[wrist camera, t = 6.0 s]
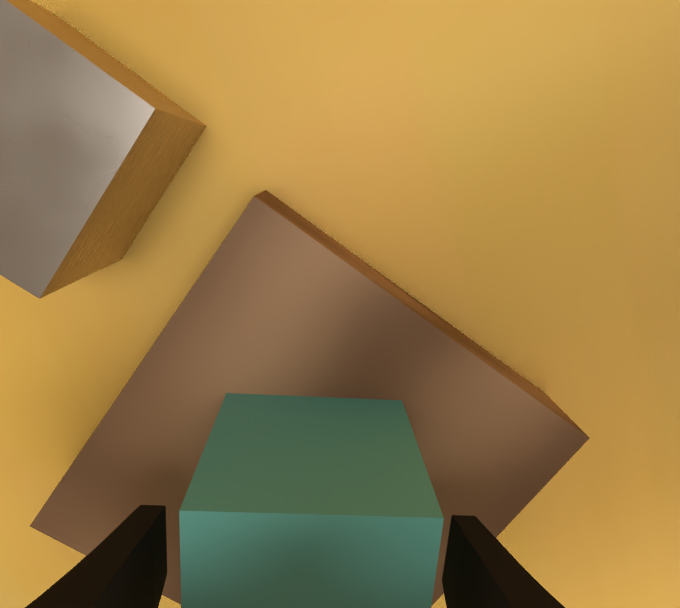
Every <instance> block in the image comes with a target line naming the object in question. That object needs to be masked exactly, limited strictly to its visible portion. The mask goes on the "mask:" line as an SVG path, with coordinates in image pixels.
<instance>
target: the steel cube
mask: <svg viewBox="0 0 680 608" xmlns="http://www.w3.org/2000/svg"><path fill="white" fill-rule="evenodd" d="M205 127H206V125H204V124H203V123H202V122H200V121H199V120H197V119H196V118H195V117H193V116H192V115H191V114H189V113H188V112H187V111H185V110H184V109H183V108H181V107H180V106H178V105H177V104H176V103H174V102H173V101H172V100H170V99H169V98H168V97H166V96H165V95H163V94H162V93H161V92H159V91H158V90H157V89H155V88H154V87H153V86H151V85H150V84H149V83H147V82H146V81H144V80H143V79H142V78H140V77H139V76H138V75H136V74H135V73H134V72H132V71H131V70H130V69H128V68H127V67H125V66H124V65H123V64H121V63H120V62H119V61H117V60H116V59H115V58H113V57H112V56H111V55H109V54H108V53H106V52H105V51H104V50H102V49H101V48H100V47H98V46H97V45H96V44H94V43H93V42H91V41H90V40H89V39H87V38H86V37H85V36H83V35H82V34H81V33H79V32H78V31H77V30H75V29H74V28H72V27H71V26H70V25H68V24H67V23H66V22H64V21H63V20H62V19H60V18H59V17H58V16H56V15H55V14H53V13H51V12H50V11H48V10H46V9H44V8H43V7H41V6H39V5H37V4H36V3H34V2H32V1H30V0H0V275H2V276H3V277H5V278H7V279H8V280H10V281H12V282H13V283H15V284H16V285H18V286H20V287H21V288H23V289H25V290H26V291H28V292H30V293H31V294H33V295H34V296H36V297H38V298H39V299H40V298H42V297H44V296H46V295H48V294H50V293H52V292H54V291H56V290H58V289H61V288H63V287H65V286H67V285H69V284H71V283H73V282H75V281H77V280H79V279H81V278H83V277H85V276H87V275H90V274H92V273H94V272H96V271H98V270H100V269H102V268H104V267H106V266H108V265H110V264H112V263H114V262H116V261H119V260H121V259H122V258H123V256H124V255H125V253H126V251H127V250H128V248H129V247H130V245H131V244H132V242H133V240H134V239H135V237H136V236H137V234H138V233H139V231H140V229H141V228H142V226H143V225H144V223H145V222H146V220H147V218H148V217H149V215H150V214H151V212H152V211H153V209H154V207H155V206H156V204H157V203H158V201H159V200H160V198H161V196H162V195H163V193H164V192H165V190H166V189H167V187H168V185H169V184H170V182H171V181H172V179H173V178H174V176H175V174H176V173H177V171H178V170H179V168H180V167H181V165H182V163H183V162H184V160H185V159H186V157H187V156H188V154H189V152H190V151H191V149H192V148H193V146H194V145H195V143H196V141H197V140H198V138H199V137H200V135H201V134H202V132H203V130H204V129H205Z"/></svg>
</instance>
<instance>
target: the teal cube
mask: <svg viewBox="0 0 680 608" xmlns="http://www.w3.org/2000/svg"><path fill="white" fill-rule="evenodd" d="M179 521H180V569H181V608H431V605H432V598H433V591H434V584H435V577H436V570H437V563H438V556H439V549H440V542H441V535H442V528H443V521H444V517H443V514H442V512H441V509H440V506H439V503H438V500H437V498H436V495H435V492H434V489H433V486H432V483H431V481H430V478H429V475H428V472H427V469H426V467H425V464H424V461H423V458H422V455H421V453H420V450H419V447H418V444H417V441H416V439H415V436H414V433H413V430H412V427H411V424H410V422H409V419H408V416H407V413H406V410H405V408H404V405H403V402H402V400H381V399H357V398H333V397H310V396H286V395H262V394H239V393H226V395H225V398H224V400H223V403H222V405H221V408H220V410H219V413H218V415H217V418H216V420H215V423H214V425H213V428H212V430H211V433H210V435H209V438H208V440H207V443H206V445H205V448H204V450H203V453H202V455H201V458H200V460H199V463H198V465H197V468H196V470H195V473H194V475H193V478H192V480H191V483H190V485H189V488H188V490H187V493H186V495H185V498H184V500H183V503H182V505H181V508H180V510H179Z"/></svg>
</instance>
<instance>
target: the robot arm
mask: <svg viewBox="0 0 680 608" xmlns="http://www.w3.org/2000/svg"><path fill="white" fill-rule="evenodd" d="M166 577H167V538H166V506H164V505H140V506H139V507H137V508H136V509H135V510H134V511H133V512H132V513H131V514H130V515H129V516H128V517H127V518H126V519H125V520H124V521H123V522H122V523H121V524H120V525H119V526H118V527H117V528H116V529H115V530H114V531H112V532H111V533H110V534H109V535H108V536H107V537H106V538H105V539H104V540H103V541H102V542H101V543H100V544H99V545H98V546H97V547H96V548H94V549H93V550H92V551H91V552H90V553H89V554H88V555H87V556H86V557H85V558H84V559H82V560H81V561H80V562H79V563H78V564H77V565H76V566H75V567H74V568H73V569H71V570H70V571H69V572H68V573H67V574H66V575H64V576H63V577H62V578H61V579H60V580H58V581H57V582H56V583H55V584H54V585H52V586H51V587H50V588H49V589H48V590H47V591H45V592H44V593H43V594H42V595H41V596H39V597H38V598H37V599H35V600H34V601H33V602H32V603H30V604H29V605H28V606H27V607H25V608H158V606H159V602H160V599H161V595H162V592H163V588H164V584H165V581H166ZM442 585H443V590H444V595H445V601H446V606H447V608H565V607H564V606H563V605H561V604H560V603H559V602H558V601H557V600H556V599H555V598H554V597H553V596H552V595H551V594H550V593H549V592H547V591H546V590H545V589H544V588H543V587H542V586H541V585H540V584H539V583H538V582H537V581H536V580H535V579H534V578H533V577H532V576H531V575H530V574H529V573H528V572H527V571H526V570H525V569H524V568H523V567H522V566H521V565H520V564H519V563H518V561H517V560H516V559H515V558H514V557H513V556H512V555H511V554H510V553H509V552H508V551H507V550H506V549H505V548H504V547H503V545H502V544H501V543H500V542H499V541H498V540H497V539H496V538H495V537H494V536H493V535H492V533H491V532H490V531H489V530H488V529H487V528H486V527H485V526H484V525H483V524H482V523H481V521H480V520H479V519H478V518H477V517H476V516H467V515H452V516H451V523H450V529H449V536H448V543H447V549H446V556H445V562H444V569H443V575H442Z"/></svg>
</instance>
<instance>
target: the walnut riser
mask: <svg viewBox="0 0 680 608" xmlns="http://www.w3.org/2000/svg"><path fill="white" fill-rule="evenodd" d="M226 393H239V394H262V395H286V396H310V397H333V398H357V399H381V400H402V402H403V405H404V408H405V410H406V413H407V416H408V419H409V422H410V424H411V427H412V430H413V433H414V436H415V439H416V441H417V444H418V447H419V450H420V453H421V455H422V458H423V461H424V464H425V467H426V469H427V472H428V475H429V478H430V481H431V483H432V486H433V489H434V492H435V495H436V498H437V500H438V503H439V506H440V509H441V512H442V514H443V517H444V521H443V528H442V535H441V542H440V549H439V556H438V563H437V570H436V577H435V584H434V591H433V598H432V605H433V604H434V603H435V602H436V601H437V600H438V599H439V598H440V596H441V595H442V594H443V593H444V590H443V585H442V575H443V569H444V562H445V556H446V549H447V543H448V536H449V529H450V523H451V516H452V515H467V516H476V517H477V518H478V519H479V520H480V521H481V523H482V524H483V525H484V526H485V527H486V528H487V529H488V530H489V531H490V532H491V533H492V535H493V536H494V537H495V538H496V537H497V536H498V535H499V534H500V533H501V532H502V531H503V530H504V528H505V527H506V526H507V525H508V524H509V523H510V522H511V521H512V520H513V519H514V518H515V517H516V516H517V515H518V514H519V513H520V511H521V510H522V509H523V508H524V507H525V506H526V505H527V504H528V503H529V502H530V501H531V500H532V499H533V498H534V497H535V496H536V494H537V493H538V492H539V491H540V490H541V489H542V488H543V487H544V486H545V485H546V484H547V483H548V482H549V481H550V480H551V478H552V477H553V476H554V475H555V474H556V473H557V472H558V471H559V470H560V469H561V468H562V467H563V466H564V465H565V464H566V463H567V461H568V460H569V459H570V458H571V457H572V456H573V455H574V454H575V453H576V452H577V451H578V450H579V449H580V448H581V447H582V446H583V444H584V443H585V442H586V441H587V440H588V439H589V437H588V436H587V435H586V434H585V433H584V432H583V431H582V430H581V429H580V428H579V427H578V426H577V425H576V424H575V423H574V422H573V421H572V420H571V419H570V418H569V417H568V416H567V415H566V414H565V413H564V412H563V411H562V410H561V409H560V408H559V407H558V406H557V405H556V404H555V403H554V402H553V401H552V400H551V399H550V398H549V397H548V396H547V395H546V394H545V393H544V392H542V391H541V390H540V389H538V388H537V387H536V386H534V385H533V384H531V383H530V382H529V381H527V380H526V379H525V378H523V377H522V376H520V375H519V374H518V373H516V372H515V371H514V370H512V369H511V368H509V367H508V366H507V365H505V364H504V363H503V362H501V361H500V360H498V359H497V358H496V357H494V356H493V355H492V354H490V353H489V352H487V351H486V350H485V349H483V348H482V347H481V346H479V345H478V344H476V343H475V342H474V341H472V340H471V339H470V338H468V337H467V336H465V335H464V334H463V333H461V332H460V331H459V330H457V329H456V328H454V327H453V326H452V325H450V324H449V323H448V322H446V321H445V320H443V319H442V318H441V317H439V316H438V315H437V314H435V313H434V312H433V311H431V310H430V309H428V308H427V307H426V306H424V305H423V304H422V303H420V302H419V301H417V300H416V299H415V298H413V297H412V296H411V295H409V294H408V293H406V292H405V291H404V290H402V289H401V288H400V287H398V286H397V285H395V284H394V283H393V282H391V281H390V280H389V279H387V278H386V277H384V276H383V275H382V274H380V273H379V272H378V271H376V270H375V269H373V268H372V267H371V266H369V265H368V264H367V263H365V262H364V261H362V260H361V259H360V258H358V257H357V256H356V255H354V254H353V253H351V252H350V251H349V250H347V249H346V248H345V247H343V246H342V245H340V244H339V243H338V242H336V241H335V240H334V239H332V238H331V237H329V236H328V235H327V234H325V233H324V232H323V231H321V230H320V229H318V228H317V227H316V226H314V225H313V224H312V223H310V222H309V221H307V220H306V219H305V218H303V217H302V216H301V215H299V214H298V213H296V212H295V211H294V210H292V209H291V208H290V207H288V206H287V205H285V204H284V203H283V202H281V201H280V200H279V199H277V198H276V197H275V196H273V195H272V194H270V193H269V192H268V191H264V192H262V193H260V194H258V195H256V196H254V197H253V199H252V200H251V202H250V203H249V205H248V206H247V208H246V209H245V210H244V212H243V213H242V215H241V216H240V218H239V219H238V221H237V222H236V224H235V225H234V227H233V228H232V230H231V231H230V233H229V234H228V235H227V237H226V238H225V240H224V241H223V243H222V244H221V246H220V247H219V249H218V250H217V252H216V253H215V255H214V256H213V258H212V259H211V260H210V262H209V263H208V265H207V266H206V268H205V269H204V271H203V272H202V274H201V275H200V277H199V278H198V280H197V281H196V282H195V284H194V285H193V287H192V288H191V290H190V291H189V293H188V294H187V296H186V297H185V299H184V300H183V302H182V303H181V305H180V306H179V307H178V309H177V310H176V312H175V313H174V315H173V316H172V318H171V319H170V321H169V322H168V324H167V325H166V327H165V328H164V330H163V331H162V332H161V334H160V335H159V337H158V338H157V340H156V341H155V343H154V344H153V346H152V347H151V349H150V350H149V352H148V353H147V355H146V356H145V357H144V359H143V360H142V362H141V363H140V365H139V366H138V368H137V369H136V371H135V372H134V374H133V375H132V377H131V378H130V379H129V381H128V382H127V384H126V385H125V387H124V388H123V390H122V391H121V393H120V394H119V396H118V397H117V399H116V400H115V402H114V403H113V404H112V406H111V407H110V409H109V410H108V412H107V413H106V415H105V416H104V418H103V419H102V421H101V422H100V424H99V425H98V427H97V428H96V429H95V431H94V432H93V434H92V435H91V437H90V438H89V440H88V441H87V443H86V444H85V446H84V447H83V449H82V450H81V452H80V453H79V454H78V456H77V457H76V459H75V460H74V462H73V463H72V465H71V466H70V468H69V469H68V471H67V472H66V474H65V475H64V476H63V478H62V479H61V481H60V482H59V484H58V485H57V487H56V488H55V490H54V491H53V493H52V494H51V496H50V497H49V499H48V500H47V501H46V503H45V504H44V506H43V507H42V509H41V510H40V512H39V513H38V515H37V516H36V518H35V519H34V521H33V522H32V524H31V525H30V527H32V528H34V529H36V530H38V531H40V532H42V533H44V534H46V535H48V536H50V537H52V538H54V539H56V540H57V541H59V542H61V543H63V544H65V545H67V546H69V547H71V548H73V549H75V550H77V551H79V552H81V553H83V554H85V555H86V556H87V555H88V554H89V553H90V552H91V551H92V550H93V549H94V548H96V547H97V546H98V545H99V544H100V543H101V542H102V541H103V540H104V539H105V538H106V537H107V536H108V535H109V534H110V533H111V532H112V531H114V530H115V529H116V528H117V527H118V526H119V525H120V524H121V523H122V522H123V521H124V520H125V519H126V518H127V517H128V516H129V515H130V514H131V513H132V512H133V511H134V510H135V509H136V508H137V507H139V506H140V505H164V506H166V538H167V577H166V581H165V584H164V588H163V592H162V595H164V596H166V597H168V598H169V599H171V600H173V601H175V602H177V603H179V604H181V569H180V521H179V510H180V508H181V505H182V503H183V500H184V498H185V495H186V493H187V490H188V488H189V485H190V483H191V480H192V478H193V475H194V473H195V470H196V468H197V465H198V463H199V460H200V458H201V455H202V453H203V450H204V448H205V445H206V443H207V440H208V438H209V435H210V433H211V430H212V428H213V425H214V423H215V420H216V418H217V415H218V413H219V410H220V408H221V405H222V403H223V400H224V398H225V395H226ZM432 605H431V606H432Z"/></svg>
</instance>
